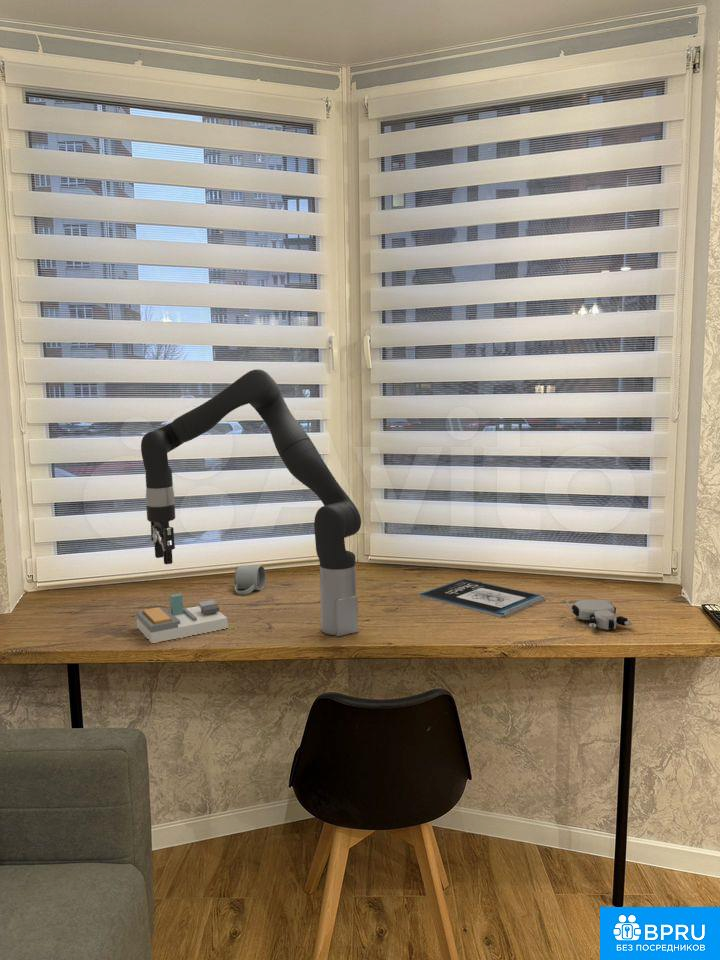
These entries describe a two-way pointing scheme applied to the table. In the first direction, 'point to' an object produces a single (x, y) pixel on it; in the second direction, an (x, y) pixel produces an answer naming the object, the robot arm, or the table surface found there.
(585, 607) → the robot toy
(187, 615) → the switch panel
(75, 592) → the table surface
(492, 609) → the sketchbook
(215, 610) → the rocker switch
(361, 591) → the table surface
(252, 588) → the ceramic mug
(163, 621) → the paddle button
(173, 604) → the slide switch
